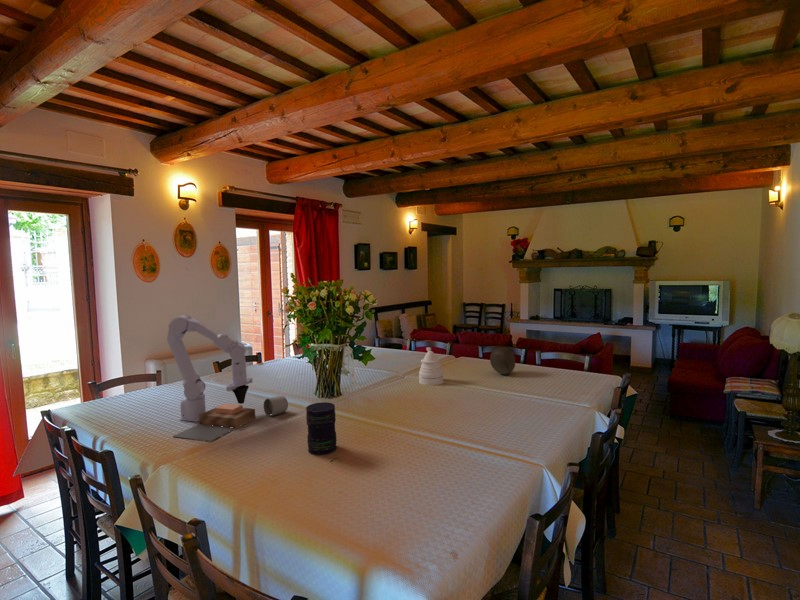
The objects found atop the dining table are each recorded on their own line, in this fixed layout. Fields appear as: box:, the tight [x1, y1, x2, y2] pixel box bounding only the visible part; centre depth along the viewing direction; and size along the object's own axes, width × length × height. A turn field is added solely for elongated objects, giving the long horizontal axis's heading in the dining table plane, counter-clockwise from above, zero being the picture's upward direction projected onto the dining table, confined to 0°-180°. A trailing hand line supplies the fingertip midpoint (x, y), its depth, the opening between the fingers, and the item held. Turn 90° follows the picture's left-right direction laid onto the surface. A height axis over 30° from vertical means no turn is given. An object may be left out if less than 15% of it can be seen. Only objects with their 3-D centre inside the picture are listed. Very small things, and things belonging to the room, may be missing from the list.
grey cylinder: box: [263, 395, 289, 417], centre depth 189 cm, size 11×8×8 cm
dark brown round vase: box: [489, 347, 516, 376], centre depth 243 cm, size 14×14×15 cm
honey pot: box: [418, 347, 444, 386], centre depth 231 cm, size 13×13×18 cm
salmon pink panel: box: [214, 403, 244, 414], centre depth 181 cm, size 9×6×2 cm, turn 72°
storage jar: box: [305, 401, 337, 456], centre depth 149 cm, size 10×10×15 cm
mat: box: [172, 423, 236, 442], centre depth 168 cm, size 18×13×1 cm
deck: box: [198, 407, 256, 429], centre depth 180 cm, size 18×12×4 cm, turn 72°
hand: (241, 403), depth 188 cm, fingers closed
